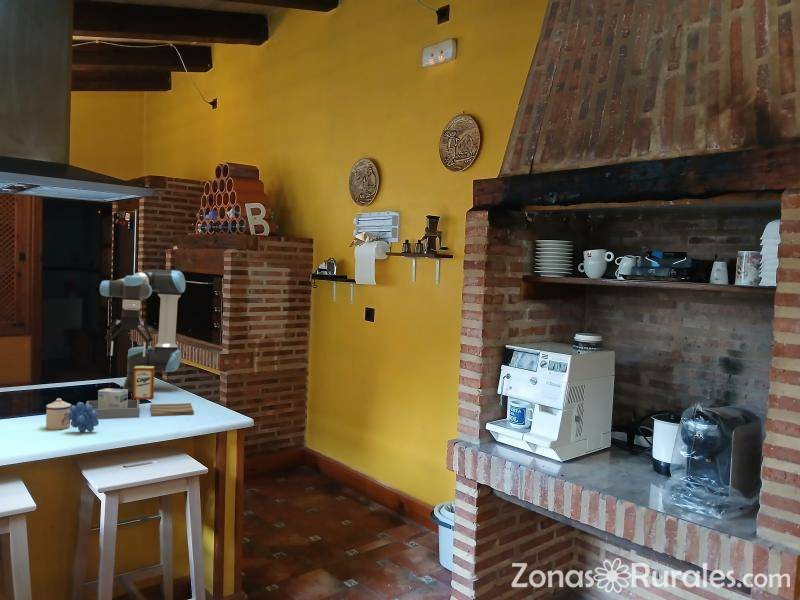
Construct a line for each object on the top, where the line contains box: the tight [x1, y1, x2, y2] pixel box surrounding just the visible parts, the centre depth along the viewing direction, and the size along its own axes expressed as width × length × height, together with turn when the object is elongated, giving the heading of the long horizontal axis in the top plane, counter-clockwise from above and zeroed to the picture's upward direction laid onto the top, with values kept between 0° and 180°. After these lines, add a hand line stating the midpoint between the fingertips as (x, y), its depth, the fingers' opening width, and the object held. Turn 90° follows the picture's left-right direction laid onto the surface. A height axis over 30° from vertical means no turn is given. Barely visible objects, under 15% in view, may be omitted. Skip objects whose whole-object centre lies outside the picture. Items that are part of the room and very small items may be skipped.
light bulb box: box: [97, 387, 129, 409], centre depth 281 cm, size 11×7×11 cm, turn 84°
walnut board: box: [150, 402, 195, 417], centre depth 291 cm, size 18×18×2 cm
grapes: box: [67, 401, 100, 433], centre depth 247 cm, size 12×7×12 cm, turn 100°
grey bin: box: [85, 399, 140, 420], centre depth 281 cm, size 19×22×4 cm
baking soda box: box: [131, 366, 155, 400], centre depth 315 cm, size 10×6×16 cm
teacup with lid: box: [45, 398, 72, 431], centre depth 255 cm, size 12×9×12 cm
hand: (127, 356), depth 285 cm, fingers open, 13 cm apart
